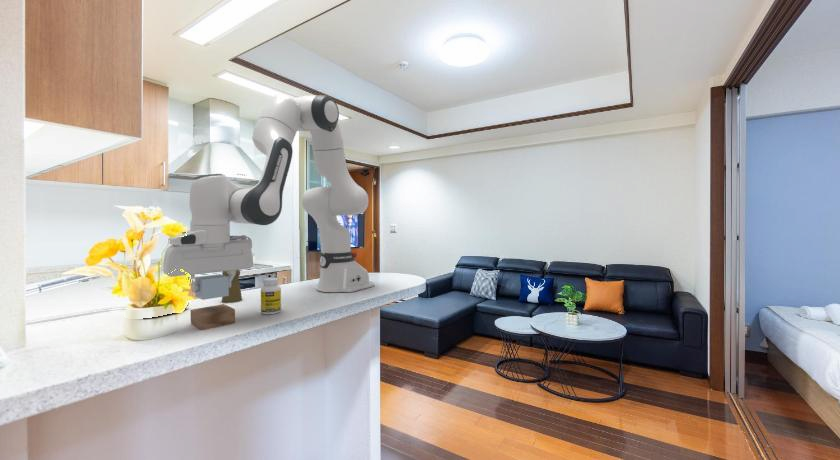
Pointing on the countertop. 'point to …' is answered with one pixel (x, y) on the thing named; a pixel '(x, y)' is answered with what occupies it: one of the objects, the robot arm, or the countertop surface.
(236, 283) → the cork
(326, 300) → the countertop surface
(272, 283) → the supplement bottle
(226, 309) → the base block
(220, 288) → the blue block
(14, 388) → the countertop surface
